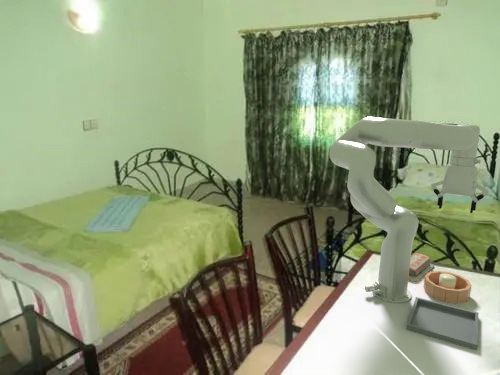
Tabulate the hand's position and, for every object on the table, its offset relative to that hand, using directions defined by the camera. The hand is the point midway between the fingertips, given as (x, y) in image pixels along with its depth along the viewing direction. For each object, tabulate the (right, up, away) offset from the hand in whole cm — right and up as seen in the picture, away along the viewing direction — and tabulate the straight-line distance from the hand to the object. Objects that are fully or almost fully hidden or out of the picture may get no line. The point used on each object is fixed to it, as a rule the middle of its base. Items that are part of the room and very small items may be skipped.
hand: (455, 209), depth 134 cm
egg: (-3, -28, 0) cm, 29 cm away
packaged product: (-7, -25, +18) cm, 32 cm away
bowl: (-3, -29, 0) cm, 29 cm away
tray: (-13, -34, -18) cm, 40 cm away
